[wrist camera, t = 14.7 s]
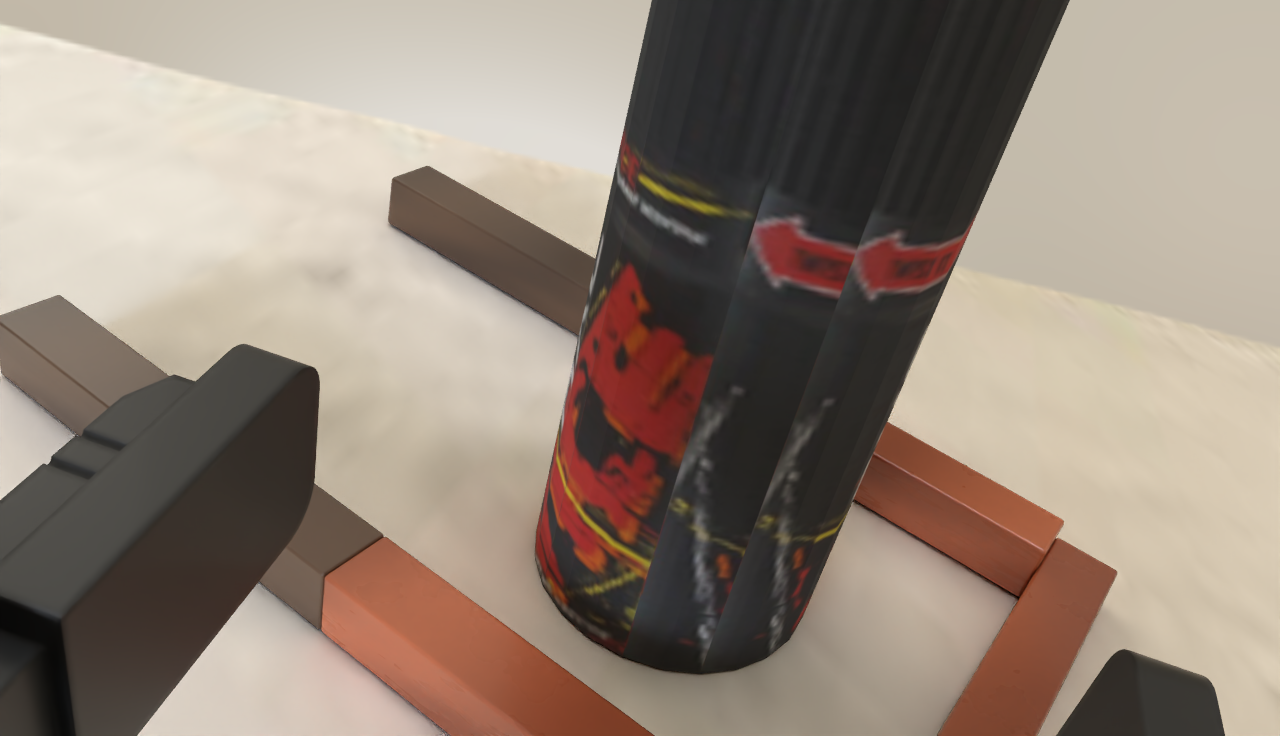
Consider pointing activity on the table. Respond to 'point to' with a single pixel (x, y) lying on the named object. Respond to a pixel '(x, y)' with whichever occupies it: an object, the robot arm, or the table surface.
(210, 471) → the robot arm
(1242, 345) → the table surface
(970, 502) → the brown angled rods
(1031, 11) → the deodorant
